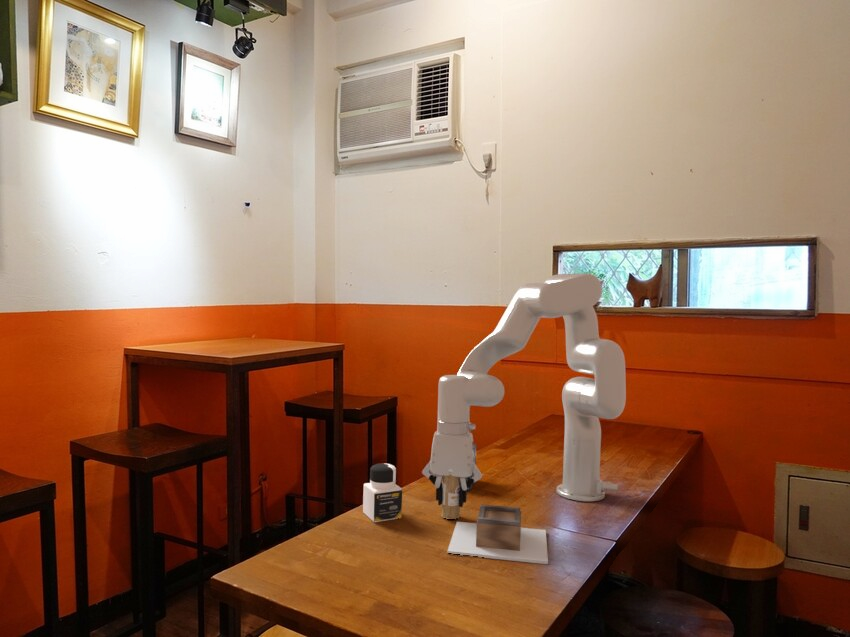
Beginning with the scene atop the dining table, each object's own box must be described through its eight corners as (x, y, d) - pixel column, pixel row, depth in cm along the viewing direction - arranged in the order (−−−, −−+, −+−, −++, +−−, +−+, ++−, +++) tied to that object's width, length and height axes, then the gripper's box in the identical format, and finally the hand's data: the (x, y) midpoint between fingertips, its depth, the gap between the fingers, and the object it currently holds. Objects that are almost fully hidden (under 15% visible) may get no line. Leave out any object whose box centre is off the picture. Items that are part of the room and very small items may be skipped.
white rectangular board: (545, 532, 130) (545, 529, 130) (547, 564, 115) (547, 561, 115) (456, 524, 134) (456, 521, 134) (447, 553, 118) (447, 550, 118)
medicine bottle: (373, 523, 133) (375, 471, 133) (362, 512, 139) (363, 463, 139) (402, 518, 136) (403, 467, 136) (389, 508, 143) (390, 459, 142)
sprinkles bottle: (456, 521, 135) (458, 464, 135) (438, 518, 137) (439, 462, 136) (462, 515, 139) (464, 459, 139) (444, 512, 141) (446, 457, 141)
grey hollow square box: (520, 533, 128) (521, 507, 128) (519, 551, 119) (520, 523, 119) (479, 529, 129) (480, 503, 129) (475, 546, 120) (476, 518, 120)
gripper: (490, 426, 140) (487, 502, 140) (421, 422, 143) (419, 496, 143) (487, 433, 132) (485, 513, 133) (415, 428, 135) (413, 506, 136)
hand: (451, 503), depth 138 cm, fingers closed on sprinkles bottle, 4 cm apart
